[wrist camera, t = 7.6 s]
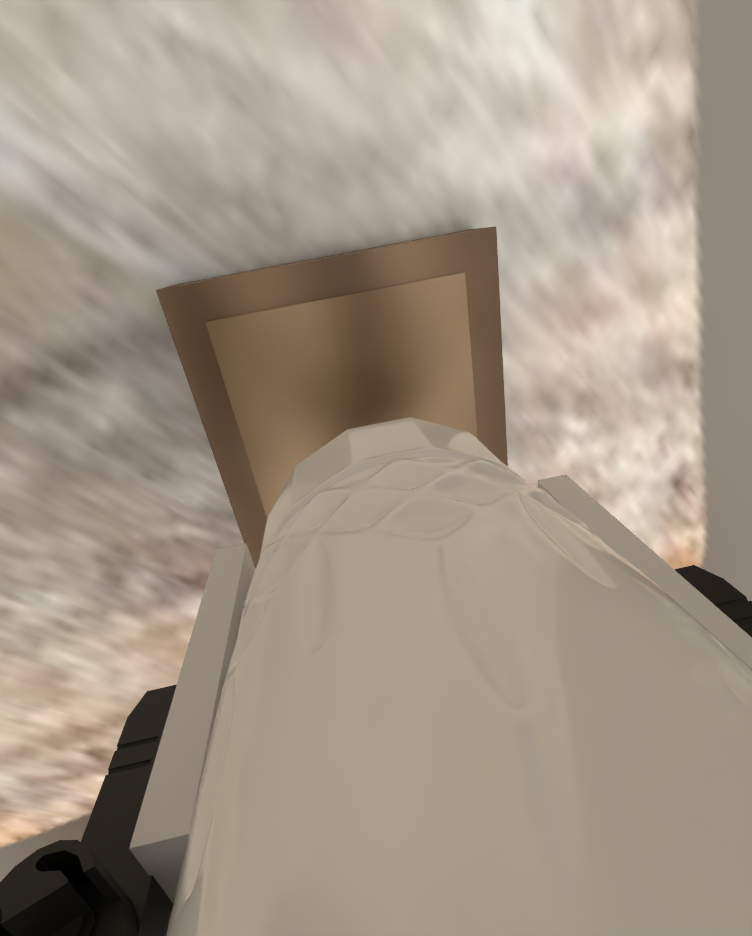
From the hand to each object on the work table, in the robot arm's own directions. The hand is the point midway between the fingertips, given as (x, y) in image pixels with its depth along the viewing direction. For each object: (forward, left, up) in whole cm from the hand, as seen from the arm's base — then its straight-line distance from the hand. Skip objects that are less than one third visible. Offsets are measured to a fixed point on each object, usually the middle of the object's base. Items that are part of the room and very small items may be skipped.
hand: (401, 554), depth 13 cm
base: (0, 0, -14) cm, 14 cm away
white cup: (0, 0, 0) cm, 1 cm away
